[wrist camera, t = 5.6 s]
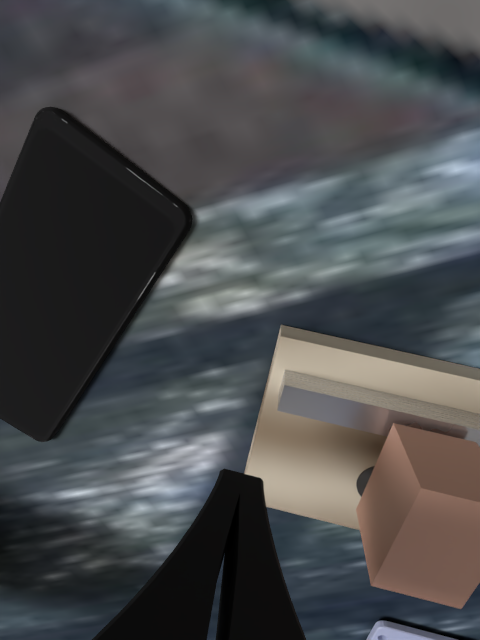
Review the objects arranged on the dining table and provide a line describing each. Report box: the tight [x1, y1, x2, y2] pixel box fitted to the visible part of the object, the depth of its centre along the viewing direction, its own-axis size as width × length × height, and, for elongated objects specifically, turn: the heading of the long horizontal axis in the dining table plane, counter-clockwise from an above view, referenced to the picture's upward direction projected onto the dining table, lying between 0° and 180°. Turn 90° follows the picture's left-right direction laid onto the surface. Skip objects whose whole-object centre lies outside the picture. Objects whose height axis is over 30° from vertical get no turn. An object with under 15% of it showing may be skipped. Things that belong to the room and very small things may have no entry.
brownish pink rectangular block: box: [356, 423, 480, 609], centre depth 13 cm, size 5×3×4 cm, turn 169°
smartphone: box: [0, 107, 192, 442], centre depth 16 cm, size 7×1×15 cm
